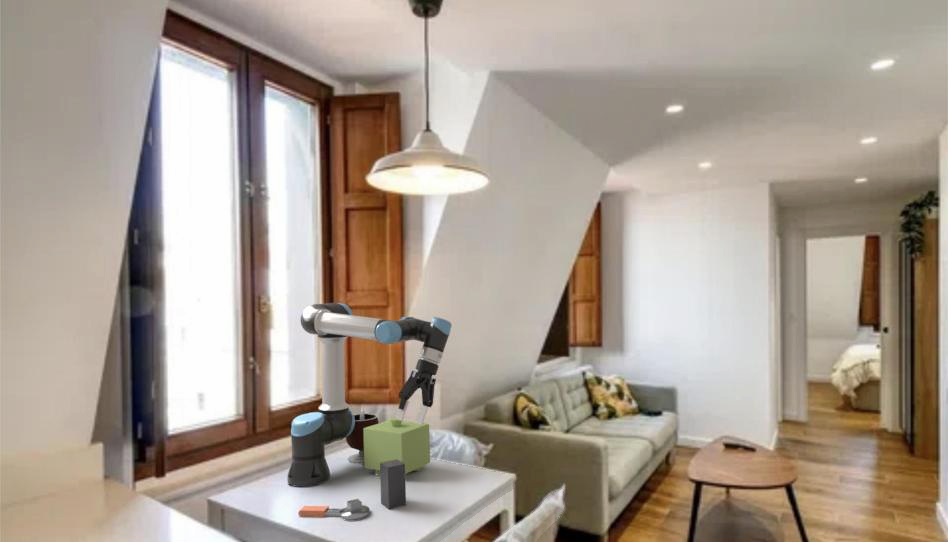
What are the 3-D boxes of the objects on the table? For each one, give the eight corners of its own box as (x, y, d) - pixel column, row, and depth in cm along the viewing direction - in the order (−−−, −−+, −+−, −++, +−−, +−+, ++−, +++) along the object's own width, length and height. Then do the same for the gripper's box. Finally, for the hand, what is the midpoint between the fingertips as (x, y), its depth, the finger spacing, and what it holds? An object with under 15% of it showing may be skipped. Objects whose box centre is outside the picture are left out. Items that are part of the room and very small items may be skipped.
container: (364, 473, 206) (362, 420, 207) (393, 461, 220) (391, 411, 221) (402, 482, 196) (401, 425, 197) (430, 468, 209) (429, 416, 210)
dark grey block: (388, 509, 171) (387, 467, 172) (381, 503, 176) (379, 462, 177) (406, 504, 174) (404, 463, 175) (398, 499, 179) (396, 459, 180)
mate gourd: (379, 462, 219) (378, 412, 220) (344, 465, 217) (342, 414, 218) (380, 451, 235) (378, 404, 235) (347, 454, 233) (346, 406, 233)
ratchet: (373, 509, 172) (372, 496, 172) (364, 521, 163) (363, 507, 163) (306, 508, 175) (306, 495, 175) (294, 520, 166) (293, 506, 166)
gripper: (420, 356, 177) (399, 421, 172) (453, 370, 199) (434, 428, 194) (402, 351, 181) (380, 414, 176) (436, 365, 202) (417, 422, 197)
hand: (408, 421), depth 185 cm, fingers open, 13 cm apart
